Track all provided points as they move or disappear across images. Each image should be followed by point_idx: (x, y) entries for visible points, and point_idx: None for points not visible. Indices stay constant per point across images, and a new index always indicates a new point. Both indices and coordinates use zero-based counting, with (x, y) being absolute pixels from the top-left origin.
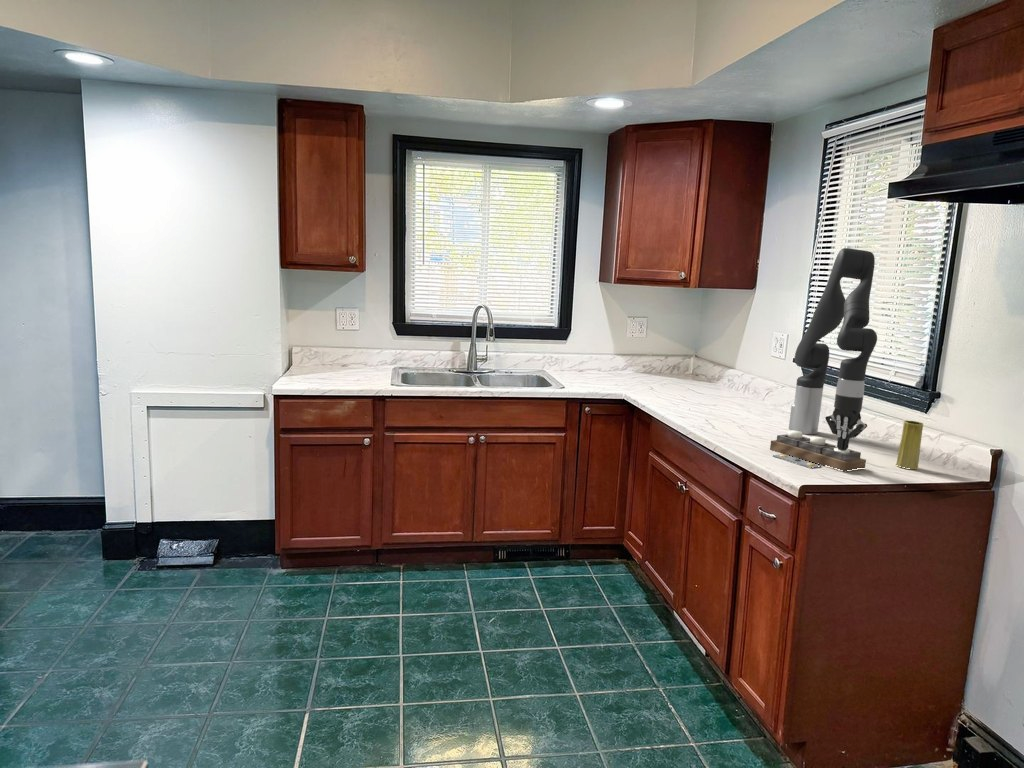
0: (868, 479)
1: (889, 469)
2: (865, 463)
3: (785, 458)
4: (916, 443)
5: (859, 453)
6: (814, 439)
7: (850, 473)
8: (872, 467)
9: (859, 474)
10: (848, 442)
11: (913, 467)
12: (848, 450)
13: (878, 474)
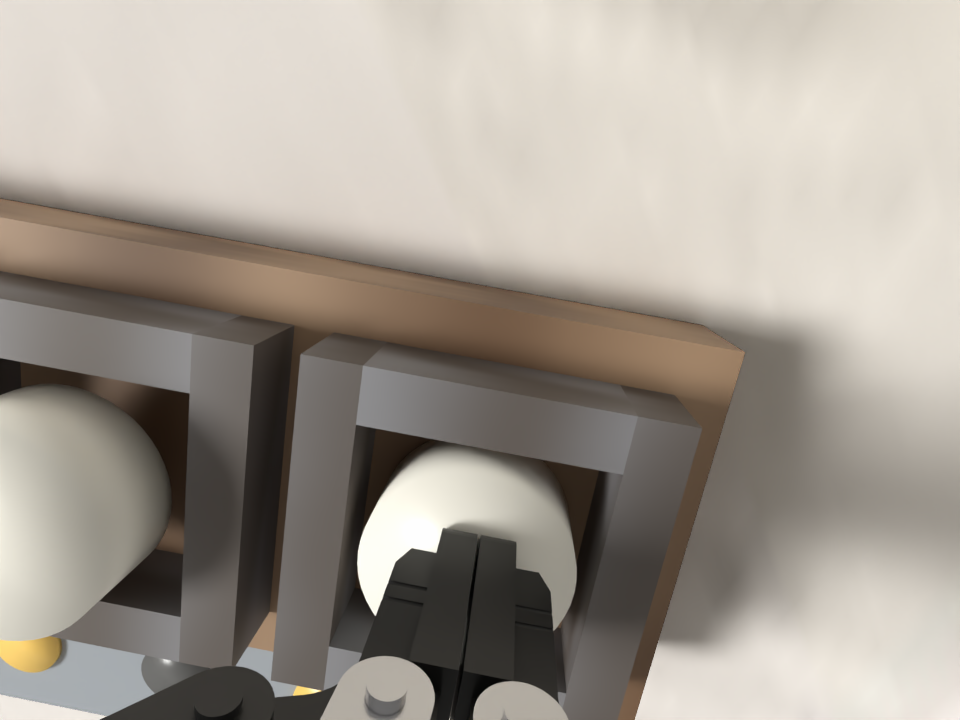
0: (859, 669)
1: (925, 19)
2: (724, 341)
3: (95, 695)
4: None
5: (689, 456)
6: (17, 630)
7: (667, 618)
8: (735, 145)
9: (739, 579)
10: (553, 670)
11: None
12: (545, 529)
13: (882, 405)
